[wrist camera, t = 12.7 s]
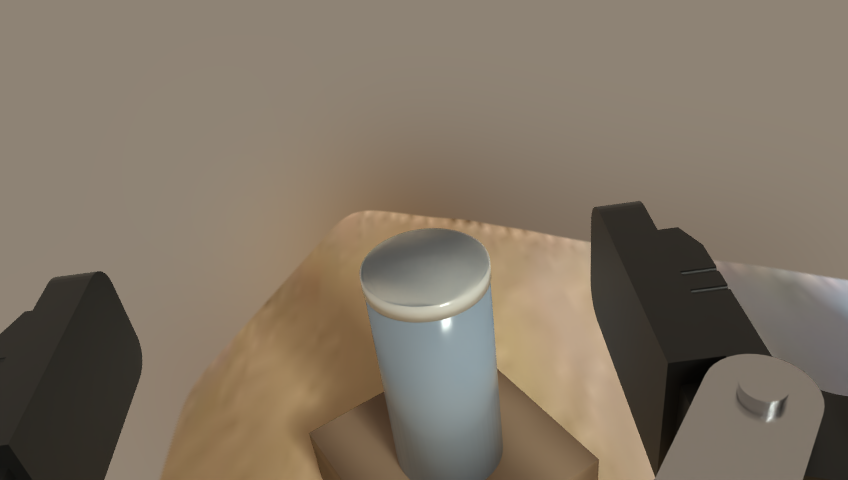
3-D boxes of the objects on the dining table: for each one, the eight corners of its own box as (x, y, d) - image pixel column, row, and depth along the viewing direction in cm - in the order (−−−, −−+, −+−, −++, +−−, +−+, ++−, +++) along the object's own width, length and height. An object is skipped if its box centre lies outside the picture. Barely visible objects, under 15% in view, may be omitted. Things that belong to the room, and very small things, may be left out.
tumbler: (461, 390, 42) (441, 214, 36) (526, 453, 38) (517, 268, 32) (376, 440, 40) (336, 262, 33) (435, 513, 36) (403, 327, 29)
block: (474, 390, 48) (469, 344, 46) (597, 508, 40) (598, 459, 38) (322, 479, 43) (309, 433, 41) (426, 631, 35) (416, 584, 33)
